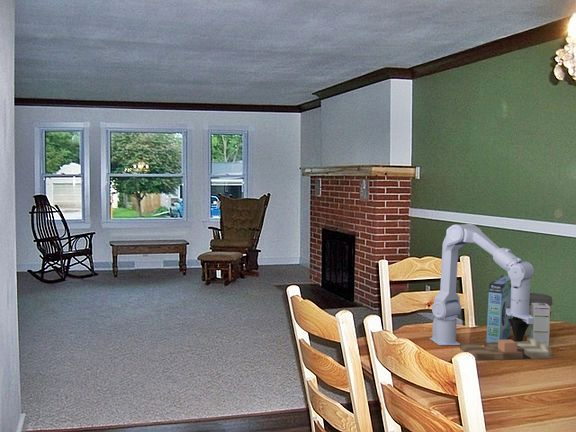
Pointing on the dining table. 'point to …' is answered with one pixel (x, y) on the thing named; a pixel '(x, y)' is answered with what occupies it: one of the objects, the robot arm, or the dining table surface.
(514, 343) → the block
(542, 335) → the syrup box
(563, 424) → the dining table surface
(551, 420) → the dining table surface
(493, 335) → the gum box
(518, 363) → the dining table surface
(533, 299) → the reusable coffee cup
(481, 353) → the board
